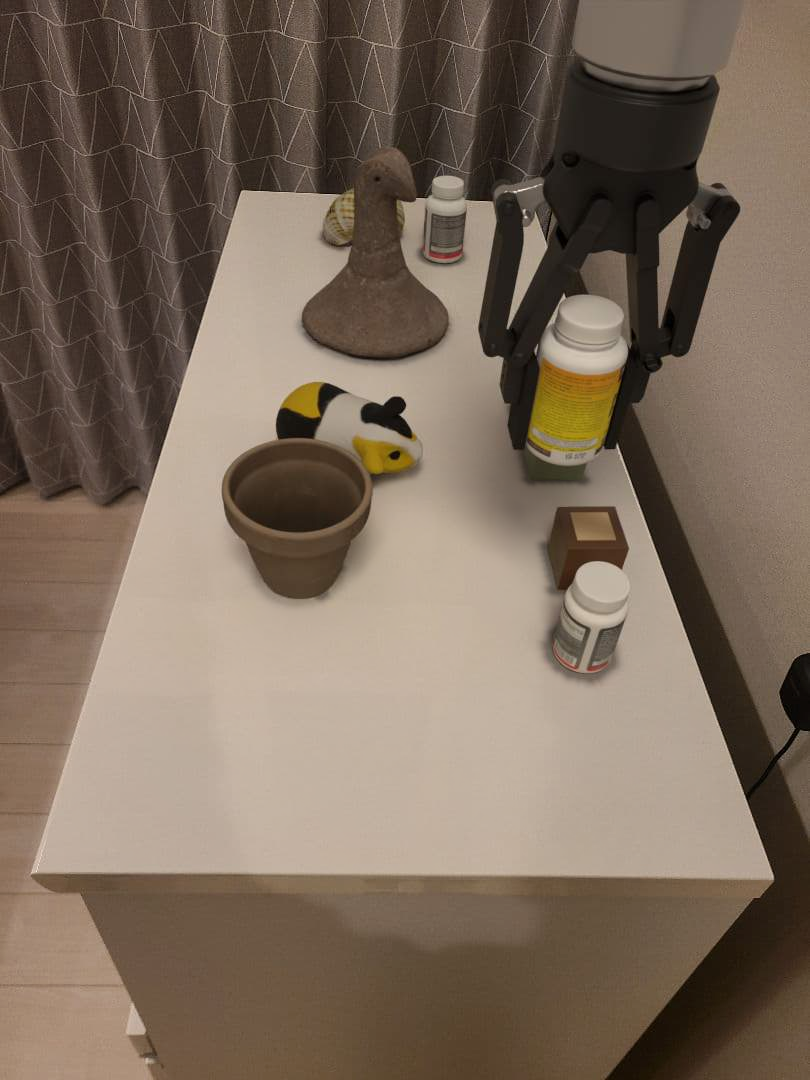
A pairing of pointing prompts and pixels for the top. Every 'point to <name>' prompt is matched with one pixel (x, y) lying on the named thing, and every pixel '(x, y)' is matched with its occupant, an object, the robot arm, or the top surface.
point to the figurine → (351, 426)
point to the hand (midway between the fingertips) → (560, 436)
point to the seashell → (347, 219)
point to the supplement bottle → (577, 380)
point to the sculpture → (377, 275)
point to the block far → (552, 468)
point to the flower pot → (297, 510)
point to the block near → (585, 540)
